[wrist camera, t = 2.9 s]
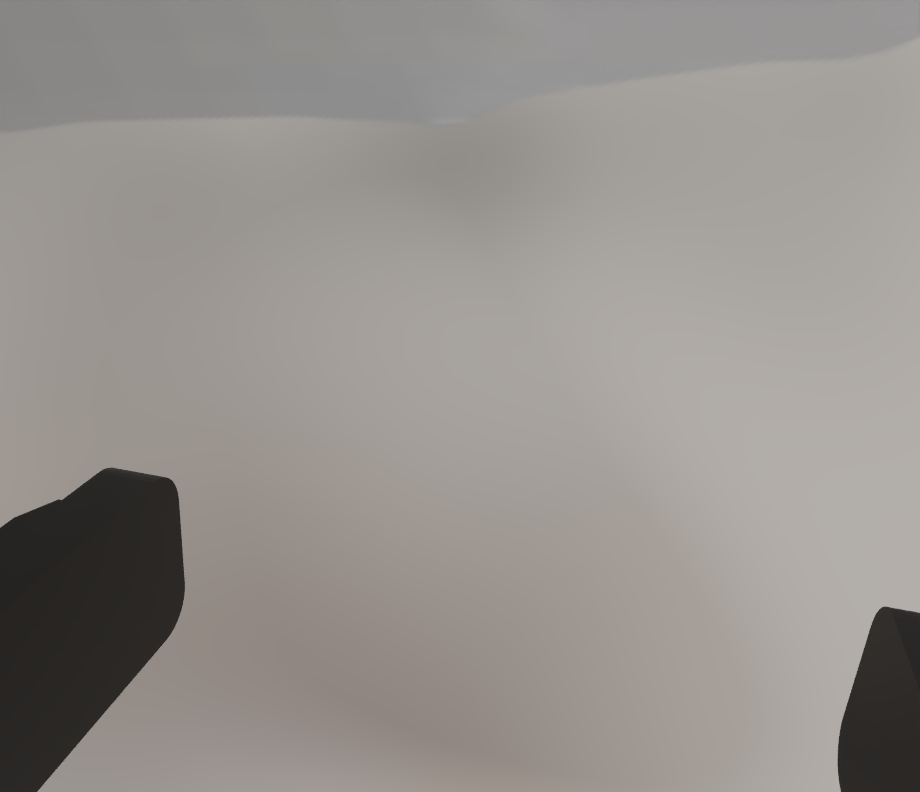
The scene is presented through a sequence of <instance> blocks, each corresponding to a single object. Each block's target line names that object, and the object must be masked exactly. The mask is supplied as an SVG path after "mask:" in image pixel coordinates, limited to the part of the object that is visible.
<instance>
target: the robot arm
mask: <svg viewBox="0 0 920 792" xmlns="http://www.w3.org/2000/svg"><path fill="white" fill-rule="evenodd" d="M184 592H185V581H184V567H183V554H182V538H181V525H180V510H179V498H178V492H177V488H176V486H175V484H174V483H173V481H172V480H170V479H169V478H165V477H160V476H155V475H149V474H144V473H138V472H132V471H128V470H122V469H116V468H107V469H104V470H102V471H100V472H99V473H97V474H96V475H95V476H93V477H92V478H91V479H90V480H88V481H87V482H86V483H84V484H83V485H82V486H80V487H79V488H78V489H76V490H75V491H74V492H72V493H71V494H70V495H68V496H67V497H66V498H64V499H63V500H56V501H54V502H52V503H49V504H47V505H44V506H42V507H39V508H37V509H35V510H32V511H30V512H27V513H25V514H22V515H20V516H18V517H15V518H13V519H12V520H10V521H9V522H8V523H6V524H5V525H4V526H2V527H1V528H0V792H37V791H38V790H39V789H40V788H41V786H42V785H43V784H44V783H45V782H46V781H47V779H48V778H49V777H50V776H51V775H52V773H53V772H54V771H55V770H56V769H57V768H58V767H59V765H60V764H61V763H62V762H63V761H64V759H65V758H66V757H67V756H68V755H69V754H70V752H71V751H72V750H73V749H74V748H75V747H76V745H77V744H78V743H79V742H80V741H81V739H82V738H83V737H84V736H85V735H86V734H87V732H88V731H89V730H90V729H91V728H92V727H93V725H94V724H95V723H96V722H97V721H98V720H99V718H100V717H101V716H102V715H103V714H104V712H105V711H106V710H107V709H108V707H110V705H111V704H112V703H113V702H114V701H115V700H116V698H117V697H118V696H119V695H120V694H121V693H122V691H123V690H124V689H125V688H126V687H127V686H128V684H129V683H130V682H131V681H132V680H133V678H134V677H135V676H136V675H137V673H139V671H140V670H141V669H142V668H143V667H144V666H145V664H146V663H147V662H148V660H150V659H151V657H152V656H153V655H154V654H155V653H156V651H157V650H158V649H159V648H160V647H161V646H162V644H163V643H164V642H165V641H166V640H167V638H168V637H169V636H170V634H171V632H172V631H173V629H174V627H175V625H176V623H177V621H178V618H179V615H180V612H181V609H182V605H183V600H184ZM838 775H839V783H840V788H841V792H920V613H917V612H912V611H906V610H901V609H895V608H890V607H882V608H881V609H880V610H879V611H878V612H877V614H876V615H875V617H874V620H873V622H872V625H871V628H870V631H869V635H868V638H867V641H866V645H865V648H864V651H863V654H862V658H861V661H860V664H859V667H858V671H857V674H856V677H855V680H854V684H853V687H852V690H851V693H850V697H849V700H848V703H847V707H846V710H845V713H844V716H843V720H842V724H841V729H840V736H839V744H838Z"/></svg>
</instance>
